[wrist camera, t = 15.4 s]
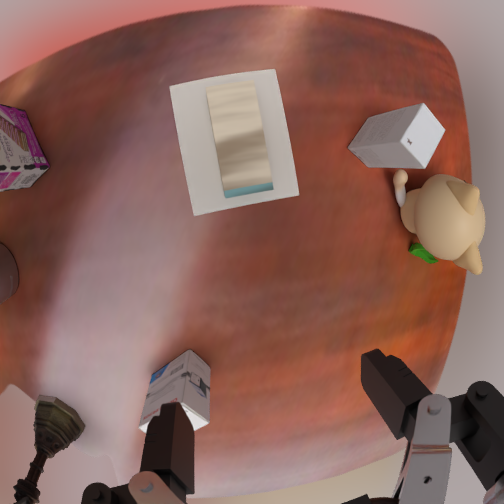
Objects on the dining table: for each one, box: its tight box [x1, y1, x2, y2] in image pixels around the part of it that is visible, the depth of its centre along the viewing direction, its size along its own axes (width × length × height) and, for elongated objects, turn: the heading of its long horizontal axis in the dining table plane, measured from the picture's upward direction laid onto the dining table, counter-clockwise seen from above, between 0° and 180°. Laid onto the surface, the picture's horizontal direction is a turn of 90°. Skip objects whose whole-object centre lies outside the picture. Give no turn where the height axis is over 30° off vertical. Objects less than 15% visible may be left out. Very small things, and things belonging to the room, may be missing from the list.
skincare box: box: [348, 103, 445, 169], centre depth 28 cm, size 6×4×12 cm
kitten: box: [393, 169, 485, 275], centre depth 30 cm, size 15×10×15 cm
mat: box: [169, 69, 299, 216], centre depth 32 cm, size 16×13×1 cm
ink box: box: [138, 350, 210, 433], centre depth 34 cm, size 9×5×12 cm, turn 128°
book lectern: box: [13, 395, 85, 504], centre depth 24 cm, size 17×13×35 cm
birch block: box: [206, 80, 274, 198], centre depth 29 cm, size 5×5×12 cm
